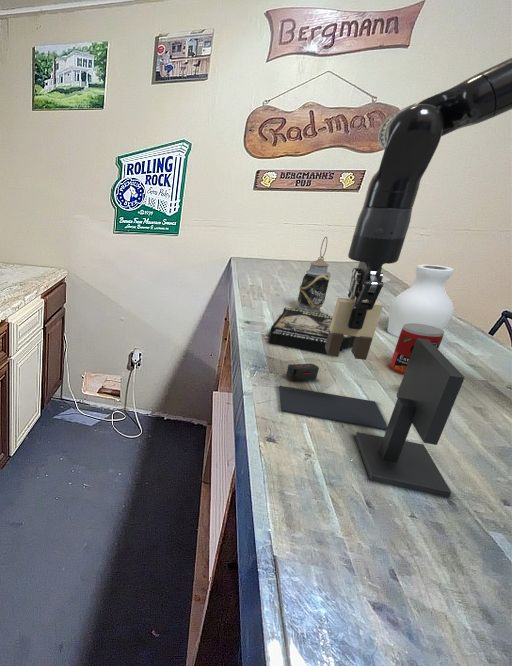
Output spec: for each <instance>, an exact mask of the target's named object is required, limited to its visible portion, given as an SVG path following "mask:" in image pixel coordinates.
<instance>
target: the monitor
mask: <svg viewBox="0 0 512 666" xmlns="http://www.w3.org/2000/svg"><path fill="white" fill-rule="evenodd" d="M465 378H466V377H465V376H464V375H463V373H461V371H460V370H459V369H458V368H456V367H455V365H454V364H453V363H452V362H451V361H450V360H449V359H448V358H447V357H446V356H445V355H444V354H443V353H442V352H441V350H440V349H439V348H438V349H437V348H436V347H435V346H434V345H433V344H432V343H431V341H430V340H428V339H421V338H417V340H416V342H415V345H414V348H413V351H412V354H411V357H410V359H409V362H408V365H407V368H406V371H405V373H404V375H403V376H402V379H401V382H400V385H399V387H398V391H397V392H396V398H397V399H396V401H395V403H394V407H393V409H392V413H391V416H390V418H389V421H388V424H387V430H386V431H385V432H384V435H383V436H380V435H375V434H371V433H364V432H360V431H356V432H355V436H354V439H355V441H356V443H357V447H358V449H359V453H360V455H361V459H362V461H363V465H364V467H365V470H366V472H367V475H368V478H369V481H370V482H374V483H377V484H383V485H387V486H392V487H397V488H401V489H406V490H411V491H415V492H419V493H424V494H428V495H433V496H437V497H442V498H446V499H450V496H451V494H452V490H451V489H450V487H449V485H448V483H447V482H446V481H445V478H444V477H443V475H442V474H441V472H440V470H439V468H438V466H437V465H436V463H435V462H434V460H433V458H432V456H431V455H430V453H429V451H428V449H427V448H426V446H425V444H427V445H434V446H438V443H439V442H440V439H441V437H442V433H443V431H444V429H445V426H446V424H447V421H448V419H449V416H450V415H451V412H452V409H453V407H454V405H455V402H456V400H457V397H458V395H459V393H460V390H461V387H462V386H463V383H464V380H465ZM412 426H413V428H414V429H415V430H416V432H417V433H418V436H419V437H420V439H421V441H422V443H417V442H412V441H407V437H408V435H409V432H410V430H411V427H412Z"/></svg>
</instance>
